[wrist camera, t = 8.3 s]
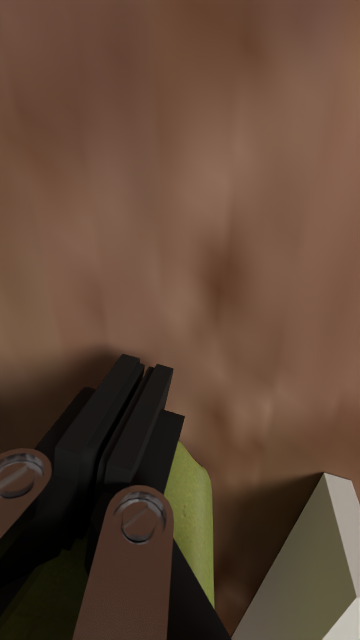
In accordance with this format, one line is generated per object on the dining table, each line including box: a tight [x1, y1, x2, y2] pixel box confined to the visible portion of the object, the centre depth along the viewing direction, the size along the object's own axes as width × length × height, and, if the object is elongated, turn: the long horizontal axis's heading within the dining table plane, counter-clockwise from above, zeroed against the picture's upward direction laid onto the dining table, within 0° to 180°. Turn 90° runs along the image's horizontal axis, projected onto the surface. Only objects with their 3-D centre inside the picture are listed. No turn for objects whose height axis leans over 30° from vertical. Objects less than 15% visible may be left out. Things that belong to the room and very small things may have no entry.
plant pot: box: [0, 441, 214, 640], centre depth 10 cm, size 9×9×9 cm
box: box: [231, 473, 360, 640], centre depth 14 cm, size 16×16×4 cm
